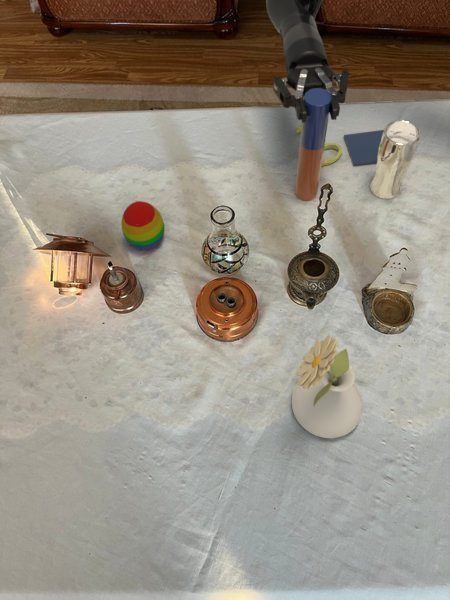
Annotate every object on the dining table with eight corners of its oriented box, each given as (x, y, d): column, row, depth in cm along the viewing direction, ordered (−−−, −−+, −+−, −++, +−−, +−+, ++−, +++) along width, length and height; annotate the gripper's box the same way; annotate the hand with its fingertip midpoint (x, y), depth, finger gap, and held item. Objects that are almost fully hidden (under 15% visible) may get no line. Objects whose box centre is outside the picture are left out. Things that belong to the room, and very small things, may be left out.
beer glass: (362, 180, 111) (376, 124, 98) (392, 172, 112) (410, 115, 99) (377, 204, 107) (393, 149, 94) (408, 195, 108) (428, 139, 95)
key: (300, 128, 120) (301, 121, 118) (345, 153, 115) (347, 145, 113) (281, 146, 117) (281, 139, 115) (326, 172, 113) (327, 164, 111)
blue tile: (382, 132, 118) (383, 129, 117) (394, 161, 113) (395, 158, 112) (343, 137, 117) (343, 134, 117) (353, 166, 113) (354, 163, 112)
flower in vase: (323, 361, 90) (344, 285, 69) (375, 407, 86) (415, 341, 64) (269, 411, 86) (274, 347, 65) (321, 463, 82) (344, 412, 60)
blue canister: (321, 131, 99) (328, 86, 90) (327, 148, 97) (334, 104, 88) (297, 134, 99) (301, 89, 90) (302, 152, 97) (307, 107, 88)
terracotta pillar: (314, 183, 111) (321, 131, 99) (319, 199, 109) (327, 148, 97) (293, 186, 111) (297, 134, 99) (297, 202, 109) (302, 152, 97)
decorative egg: (168, 222, 108) (161, 189, 99) (164, 255, 104) (156, 223, 95) (129, 222, 108) (118, 189, 99) (124, 255, 104) (112, 223, 95)
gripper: (266, 40, 95) (278, 102, 86) (345, 32, 95) (365, 94, 86) (265, 76, 101) (277, 138, 93) (339, 69, 101) (357, 130, 93)
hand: (319, 116), depth 90 cm, fingers closed on blue canister, 4 cm apart
